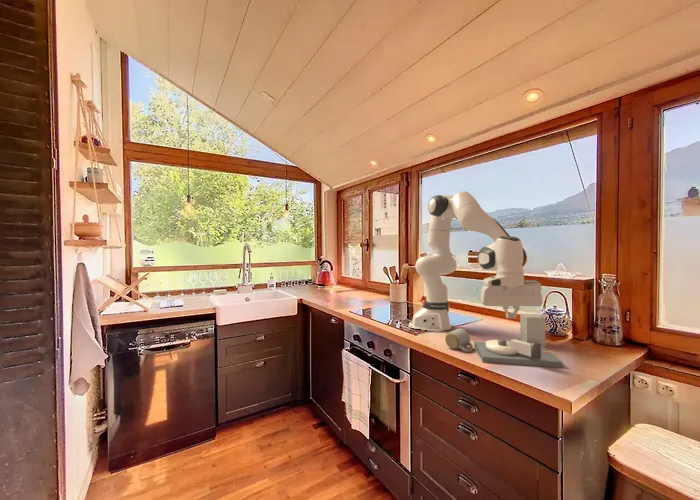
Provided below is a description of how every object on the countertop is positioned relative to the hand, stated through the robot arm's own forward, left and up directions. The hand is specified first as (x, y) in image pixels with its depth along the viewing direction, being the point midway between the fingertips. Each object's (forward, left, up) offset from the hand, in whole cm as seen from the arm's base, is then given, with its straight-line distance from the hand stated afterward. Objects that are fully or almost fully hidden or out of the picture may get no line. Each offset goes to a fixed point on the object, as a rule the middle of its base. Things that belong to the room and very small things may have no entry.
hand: (511, 317), depth 105 cm
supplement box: (+15, +25, -17) cm, 34 cm away
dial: (+2, +6, -15) cm, 16 cm away
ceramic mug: (-16, +14, -17) cm, 28 cm away
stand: (+3, +9, -17) cm, 20 cm away
